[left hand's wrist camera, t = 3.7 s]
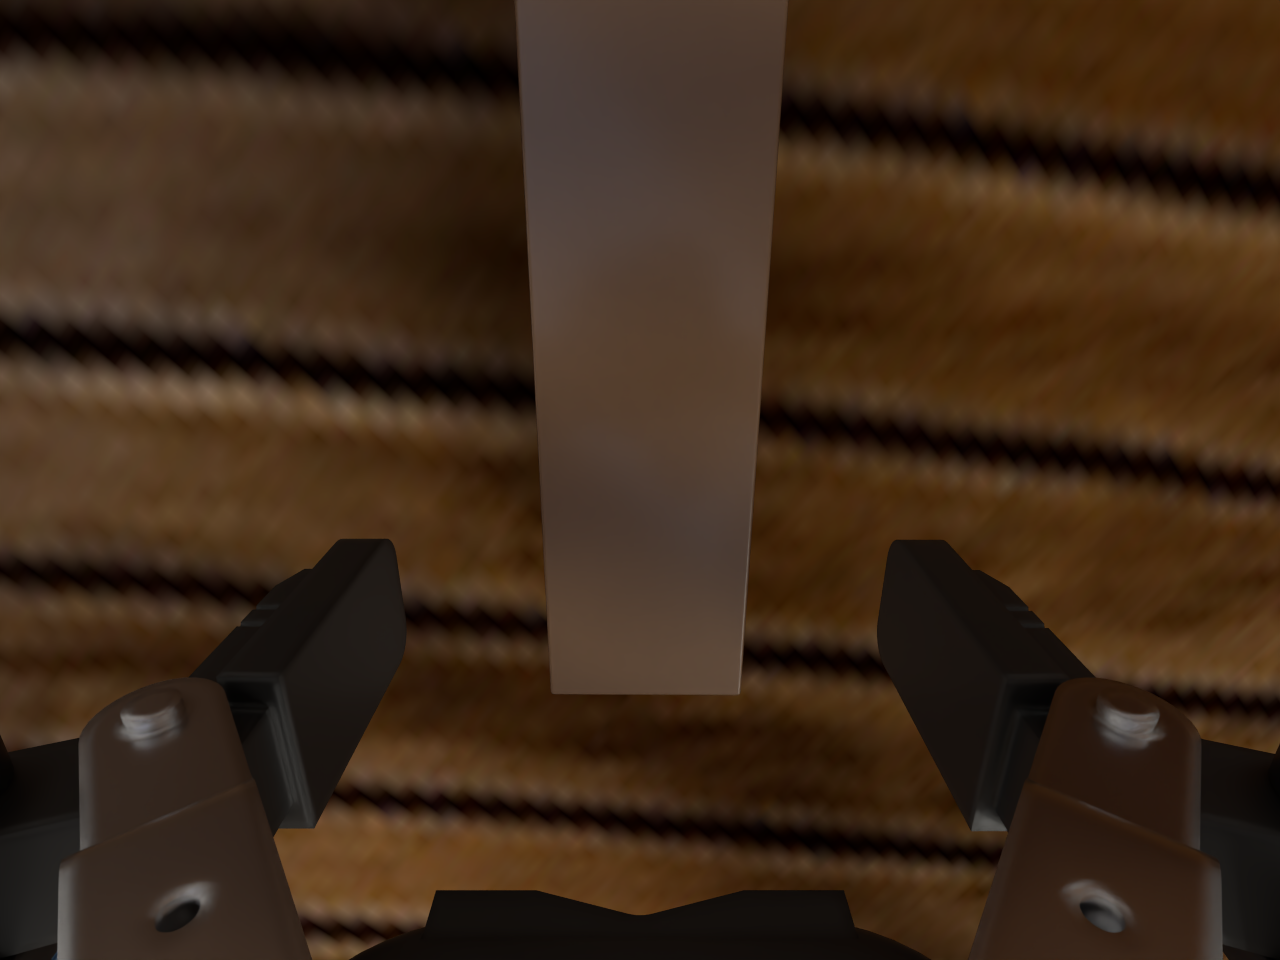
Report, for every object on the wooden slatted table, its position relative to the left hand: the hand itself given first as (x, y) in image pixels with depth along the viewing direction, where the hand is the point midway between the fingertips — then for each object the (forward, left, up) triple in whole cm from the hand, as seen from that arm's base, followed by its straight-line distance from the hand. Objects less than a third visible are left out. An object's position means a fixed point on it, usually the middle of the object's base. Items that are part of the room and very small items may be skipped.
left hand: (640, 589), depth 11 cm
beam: (+23, +5, -12) cm, 26 cm away
